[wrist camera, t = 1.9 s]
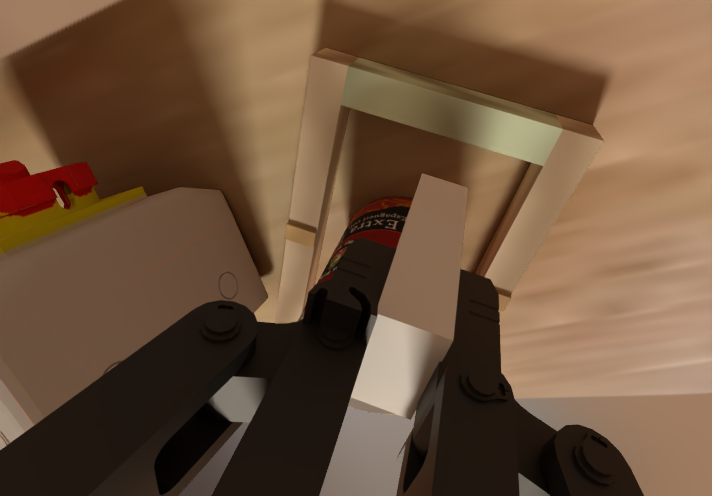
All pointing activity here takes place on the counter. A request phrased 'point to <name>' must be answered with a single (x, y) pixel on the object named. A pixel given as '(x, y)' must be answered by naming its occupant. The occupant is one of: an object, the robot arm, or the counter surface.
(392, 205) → the canned food
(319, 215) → the slot frame
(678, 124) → the counter surface
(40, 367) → the electrical switch box
